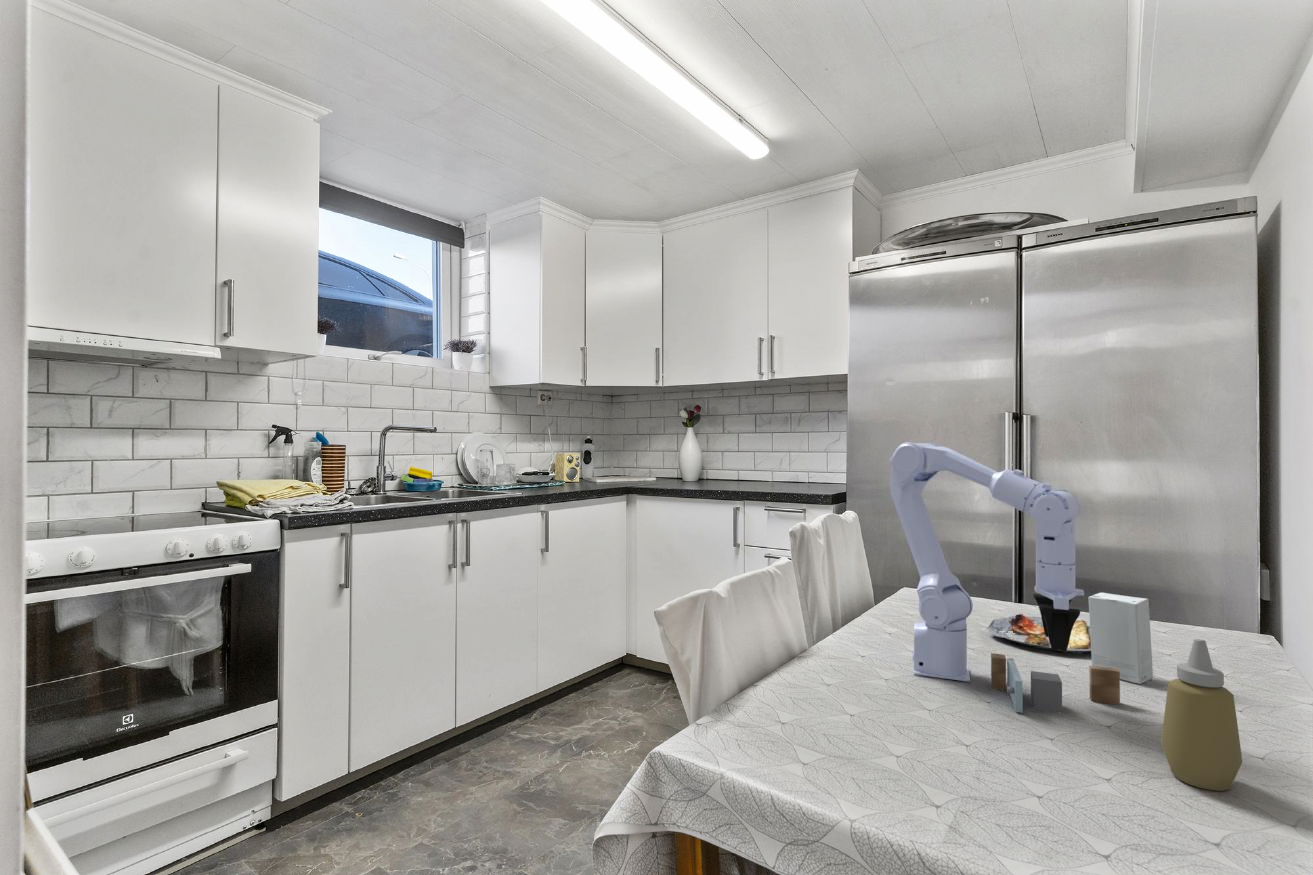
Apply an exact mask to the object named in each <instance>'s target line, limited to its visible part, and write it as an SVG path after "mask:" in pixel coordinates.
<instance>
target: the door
mask: <svg viewBox="0 0 1313 875" xmlns="http://www.w3.org/2000/svg"><path fill="white" fill-rule="evenodd" d="M1006 693H1008V694H1009V696H1010V700H1011V702H1012V705H1013V708H1014V712H1015V713H1021V714H1022V713H1024V712H1023V711H1024V710H1023V708H1024V707H1023V680H1022V677H1021V674H1020V671H1019V670H1018V667H1017V664H1016V662H1015V659H1013V658H1010V657H1008V658H1007V657H1006Z"/></svg>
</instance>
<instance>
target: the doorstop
mask: <svg viewBox="0 0 1313 875" xmlns="http://www.w3.org/2000/svg"><path fill="white" fill-rule="evenodd" d="M1030 702H1031V705H1032V708H1033V710H1040V711H1046V712H1051V713H1059V714H1062V713H1063V681H1062V680H1061V678H1060V675H1059V674H1058V673H1050V672H1042V671H1035V670H1031V671H1030Z"/></svg>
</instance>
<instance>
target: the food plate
mask: <svg viewBox="0 0 1313 875" xmlns="http://www.w3.org/2000/svg"><path fill="white" fill-rule="evenodd" d="M987 631H988V632H989V633H990V634H992V635H993V636H995V637H999V638H1004V639H1006V640H1008V641H1013V642H1015V641H1016V642H1015V643H1018V644H1021V645H1024V646H1028V647H1032V648H1037V649H1043V650H1049V651H1055V652H1057V651H1058V652H1063V653H1073V654H1082V653H1085V652H1087V653H1088V652H1091V636H1090V625H1089V626H1088V624H1087V622H1086V621H1085V620H1076V621H1075V623H1074V625H1073V628H1072V631H1071V635H1070V640H1069V644H1068V648H1067V650H1066V651H1062V650H1053V649H1052V648H1051V646H1049V645H1050V642H1049V637H1046V635H1045V632H1044V628H1043V623H1042V618H1041V616H1025V615H1024V614H1023V613H1018V614H1016V615H1014V616H1007V617H1000V618H997V619H996V618H995V619H993V620H992V621H991V623H990V624H989V626H988V627H987ZM1000 631H1005V632H1003V633H1002V632H1000ZM1008 631H1013V633H1015V634H1014V635H1017V636H1016V637H1015V639H1014V638H1012V637H1008V635H1007V634H1005V633H1008ZM1014 635H1013V636H1014ZM1018 636H1019V637H1020V638H1018ZM1011 638H1012V639H1011ZM1019 639H1020V640H1019ZM1021 640H1023V641H1021ZM1047 645H1048V646H1047Z"/></svg>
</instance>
